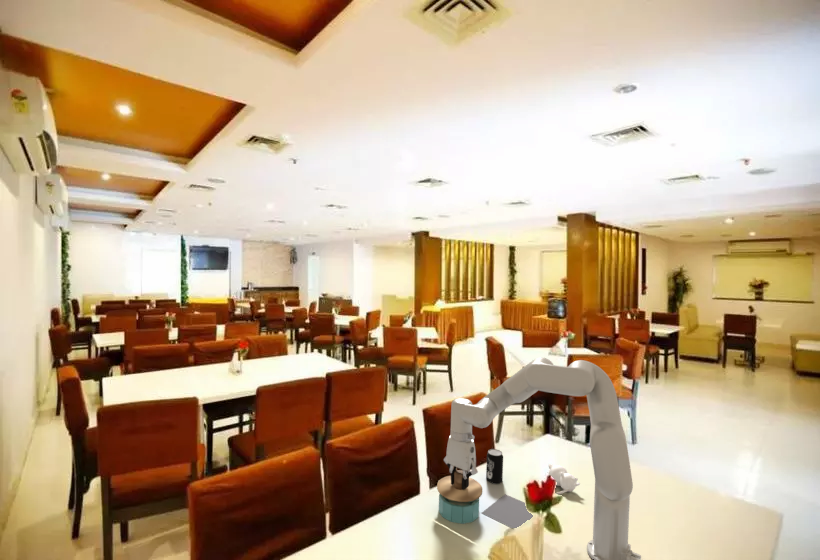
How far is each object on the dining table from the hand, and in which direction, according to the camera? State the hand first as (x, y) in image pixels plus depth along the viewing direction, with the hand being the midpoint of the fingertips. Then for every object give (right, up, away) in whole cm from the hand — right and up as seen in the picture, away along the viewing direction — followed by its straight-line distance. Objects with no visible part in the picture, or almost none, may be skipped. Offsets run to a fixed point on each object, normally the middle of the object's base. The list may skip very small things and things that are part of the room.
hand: (459, 485), depth 142 cm
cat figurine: (+43, -11, +18) cm, 48 cm away
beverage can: (+17, -10, +22) cm, 30 cm away
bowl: (0, -10, 0) cm, 10 cm away
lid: (0, -1, 0) cm, 1 cm away
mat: (+20, -10, 0) cm, 22 cm away
